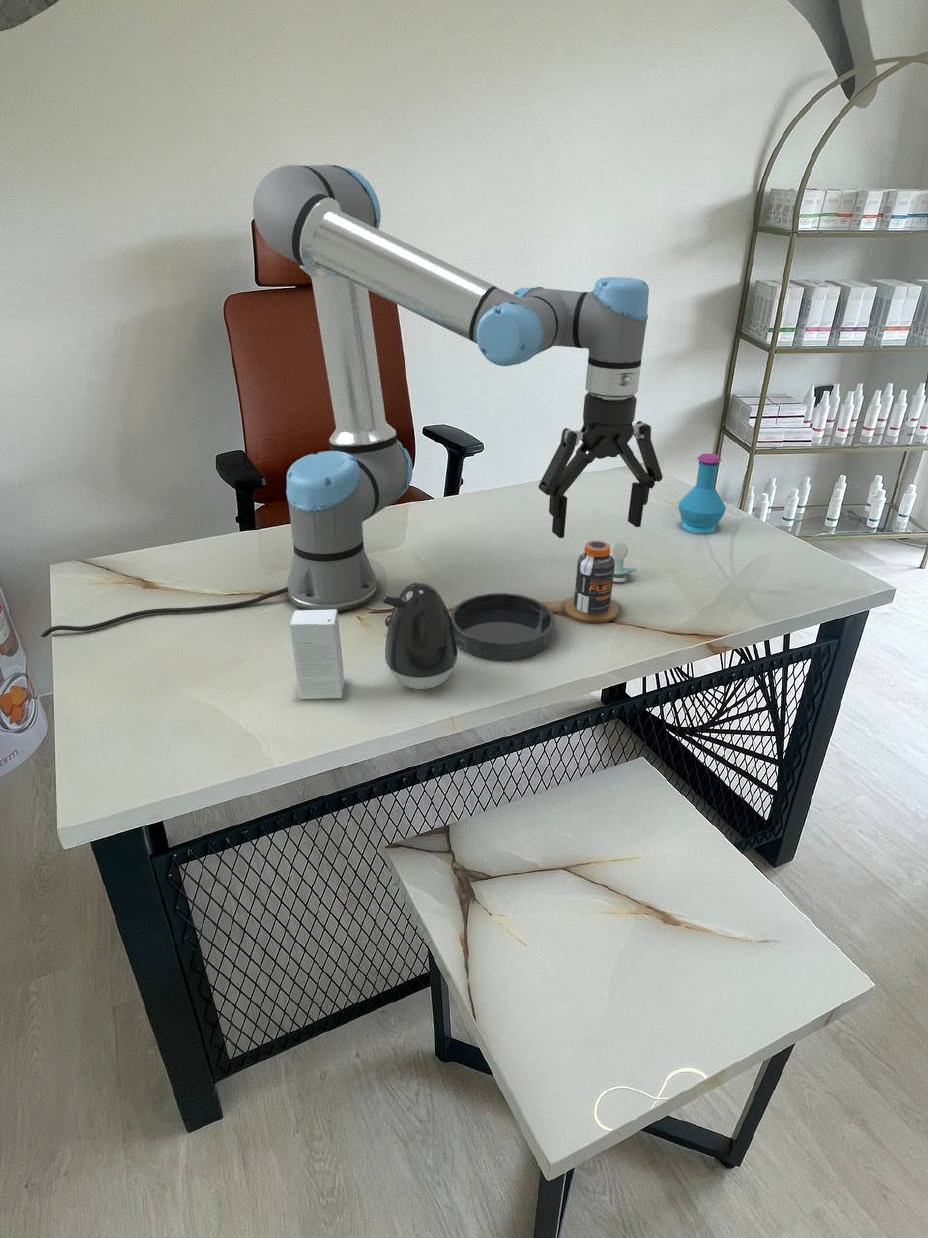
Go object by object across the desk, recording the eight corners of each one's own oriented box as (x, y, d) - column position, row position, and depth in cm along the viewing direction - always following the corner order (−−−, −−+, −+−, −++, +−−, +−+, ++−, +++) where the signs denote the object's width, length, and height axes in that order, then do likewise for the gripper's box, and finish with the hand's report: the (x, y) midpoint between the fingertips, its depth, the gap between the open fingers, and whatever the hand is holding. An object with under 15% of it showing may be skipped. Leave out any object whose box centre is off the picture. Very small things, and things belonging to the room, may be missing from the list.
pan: (472, 669, 118) (472, 651, 116) (436, 618, 131) (436, 602, 130) (571, 649, 123) (572, 632, 121) (527, 602, 136) (528, 586, 135)
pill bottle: (587, 618, 130) (593, 554, 124) (566, 603, 134) (571, 541, 129) (617, 610, 132) (624, 547, 127) (595, 595, 137) (601, 534, 131)
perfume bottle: (667, 521, 168) (676, 451, 160) (706, 516, 170) (717, 447, 163) (691, 538, 160) (702, 465, 153) (731, 532, 162) (743, 461, 155)
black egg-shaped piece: (375, 669, 118) (369, 576, 110) (441, 654, 121) (439, 563, 114) (399, 706, 109) (394, 608, 102) (468, 689, 113) (469, 593, 106)
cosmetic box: (345, 682, 115) (338, 608, 109) (342, 699, 111) (335, 624, 105) (302, 683, 114) (293, 609, 109) (297, 700, 111) (288, 624, 105)
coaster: (579, 627, 129) (580, 624, 128) (554, 602, 136) (555, 599, 136) (628, 617, 131) (629, 614, 131) (601, 594, 139) (601, 590, 139)
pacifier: (617, 588, 141) (640, 578, 144) (620, 556, 138) (643, 546, 141) (587, 574, 146) (609, 564, 149) (589, 542, 143) (612, 533, 146)
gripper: (544, 406, 109) (534, 549, 120) (698, 393, 117) (677, 528, 128) (521, 393, 115) (514, 530, 126) (670, 382, 123) (651, 511, 134)
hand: (596, 529), depth 127 cm, fingers open, 13 cm apart
